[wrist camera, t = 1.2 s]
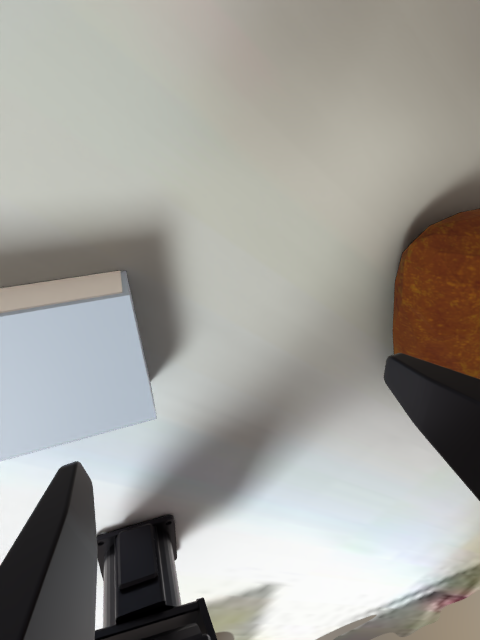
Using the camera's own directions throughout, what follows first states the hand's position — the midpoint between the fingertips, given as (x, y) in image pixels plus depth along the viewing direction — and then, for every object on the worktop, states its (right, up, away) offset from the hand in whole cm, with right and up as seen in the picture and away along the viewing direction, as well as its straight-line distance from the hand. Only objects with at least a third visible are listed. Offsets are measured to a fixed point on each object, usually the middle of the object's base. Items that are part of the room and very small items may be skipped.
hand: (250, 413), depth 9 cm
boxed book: (-12, +1, +10) cm, 16 cm away
